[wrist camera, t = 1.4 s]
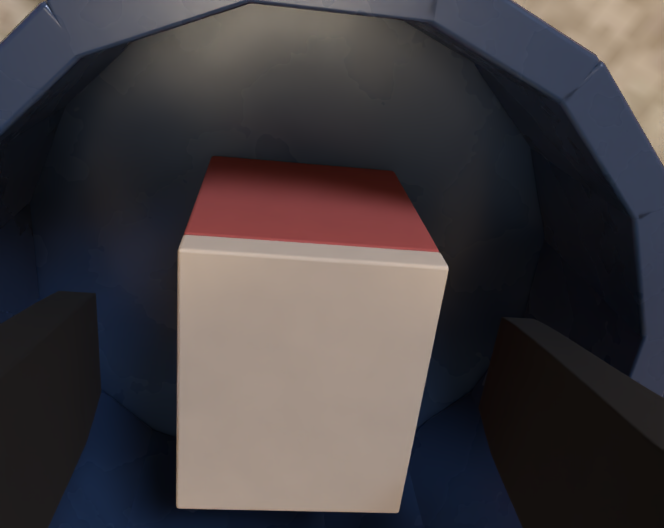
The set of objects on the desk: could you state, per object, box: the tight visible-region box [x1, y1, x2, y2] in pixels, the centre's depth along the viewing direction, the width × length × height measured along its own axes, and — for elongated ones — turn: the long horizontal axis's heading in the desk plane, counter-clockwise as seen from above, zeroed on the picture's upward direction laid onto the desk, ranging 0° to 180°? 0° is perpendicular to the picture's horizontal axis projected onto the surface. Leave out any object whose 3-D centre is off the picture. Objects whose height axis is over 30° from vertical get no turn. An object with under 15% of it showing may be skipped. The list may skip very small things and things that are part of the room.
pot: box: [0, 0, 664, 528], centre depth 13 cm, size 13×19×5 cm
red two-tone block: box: [176, 156, 449, 513], centre depth 12 cm, size 5×4×5 cm
